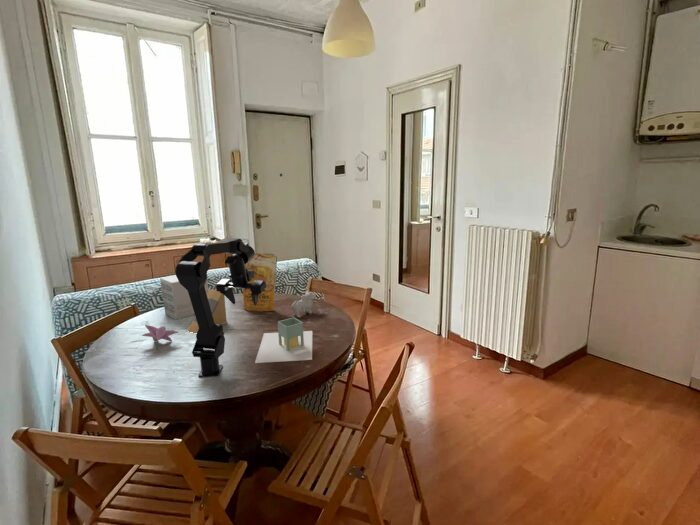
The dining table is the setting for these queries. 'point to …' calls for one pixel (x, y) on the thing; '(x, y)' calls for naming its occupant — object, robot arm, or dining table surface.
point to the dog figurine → (303, 303)
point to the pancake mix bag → (265, 272)
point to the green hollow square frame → (290, 330)
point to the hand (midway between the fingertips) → (245, 304)
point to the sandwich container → (213, 309)
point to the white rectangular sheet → (284, 349)
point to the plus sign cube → (292, 342)
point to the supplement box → (176, 298)
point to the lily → (159, 333)
